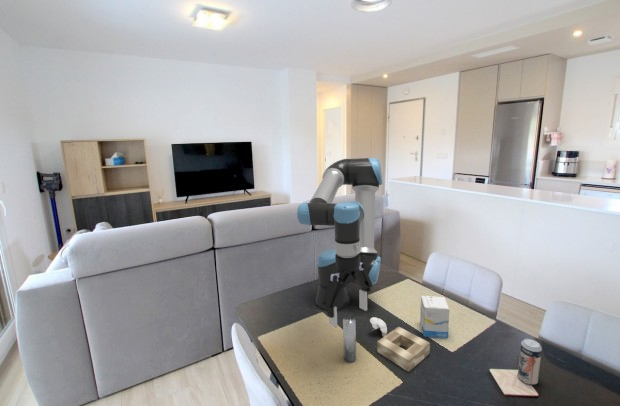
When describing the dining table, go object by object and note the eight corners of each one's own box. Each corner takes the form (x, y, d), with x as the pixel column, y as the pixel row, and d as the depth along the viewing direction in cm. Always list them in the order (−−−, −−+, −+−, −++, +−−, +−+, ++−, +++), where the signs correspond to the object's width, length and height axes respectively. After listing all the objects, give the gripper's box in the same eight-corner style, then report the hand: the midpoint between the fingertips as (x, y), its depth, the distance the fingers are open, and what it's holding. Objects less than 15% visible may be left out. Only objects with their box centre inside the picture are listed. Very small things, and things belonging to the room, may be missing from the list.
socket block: (377, 351, 101) (377, 341, 100) (398, 336, 108) (398, 326, 107) (408, 372, 91) (408, 360, 91) (429, 353, 99) (429, 342, 98)
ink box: (448, 338, 105) (450, 308, 103) (423, 336, 107) (424, 307, 105) (443, 324, 114) (444, 296, 111) (419, 322, 115) (420, 294, 113)
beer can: (513, 373, 89) (517, 338, 86) (528, 372, 89) (532, 336, 87) (526, 386, 84) (530, 349, 82) (542, 385, 84) (546, 347, 82)
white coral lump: (383, 332, 114) (393, 322, 111) (380, 344, 108) (390, 334, 105) (366, 318, 116) (375, 309, 113) (362, 329, 110) (371, 319, 107)
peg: (341, 358, 99) (340, 320, 96) (349, 352, 101) (349, 315, 98) (350, 364, 96) (349, 325, 93) (358, 358, 98) (358, 320, 95)
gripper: (325, 269, 80) (327, 339, 84) (383, 246, 95) (383, 307, 100) (307, 261, 86) (311, 327, 90) (365, 241, 101) (365, 298, 105)
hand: (348, 316), depth 95 cm, fingers open, 13 cm apart
